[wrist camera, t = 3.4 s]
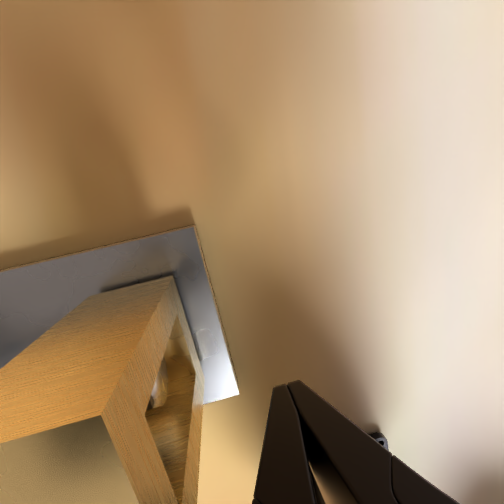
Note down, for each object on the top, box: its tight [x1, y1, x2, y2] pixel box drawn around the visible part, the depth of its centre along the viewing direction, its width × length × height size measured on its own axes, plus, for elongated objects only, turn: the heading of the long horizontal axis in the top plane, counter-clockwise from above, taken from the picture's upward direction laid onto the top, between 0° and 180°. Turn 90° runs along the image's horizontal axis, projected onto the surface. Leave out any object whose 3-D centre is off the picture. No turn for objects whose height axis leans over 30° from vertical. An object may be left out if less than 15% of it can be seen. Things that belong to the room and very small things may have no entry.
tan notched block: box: [0, 275, 205, 504], centre depth 10 cm, size 4×6×8 cm, turn 12°
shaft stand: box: [0, 225, 239, 411], centre depth 12 cm, size 18×10×6 cm, turn 102°
